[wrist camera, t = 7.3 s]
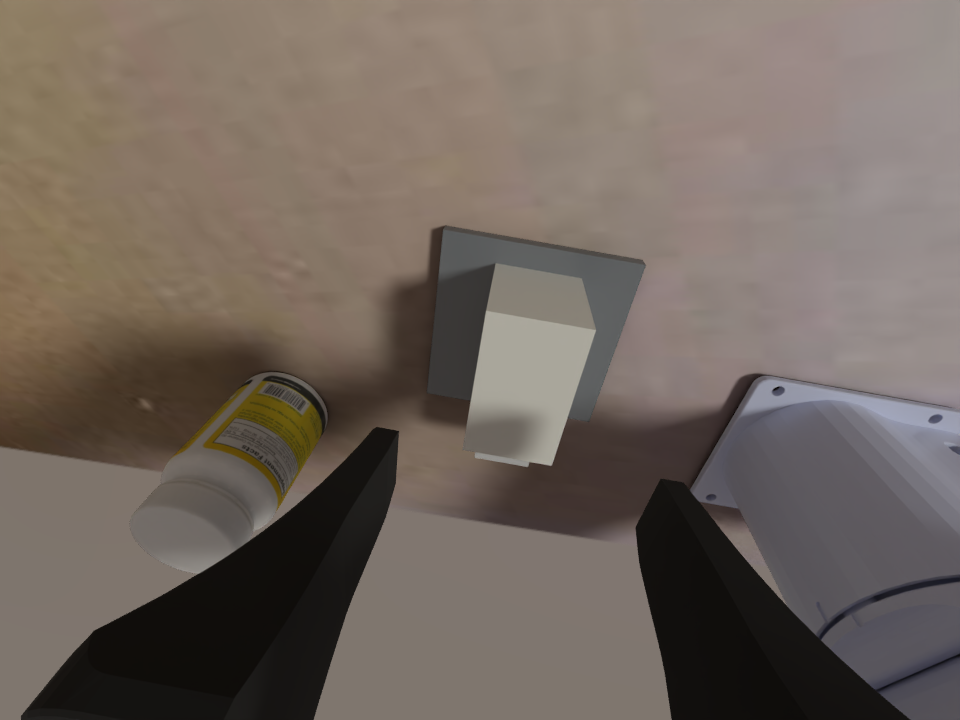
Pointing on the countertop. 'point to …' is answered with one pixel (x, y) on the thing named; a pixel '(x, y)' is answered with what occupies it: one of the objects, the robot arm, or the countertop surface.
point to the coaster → (468, 292)
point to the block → (528, 365)
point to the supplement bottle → (231, 473)
